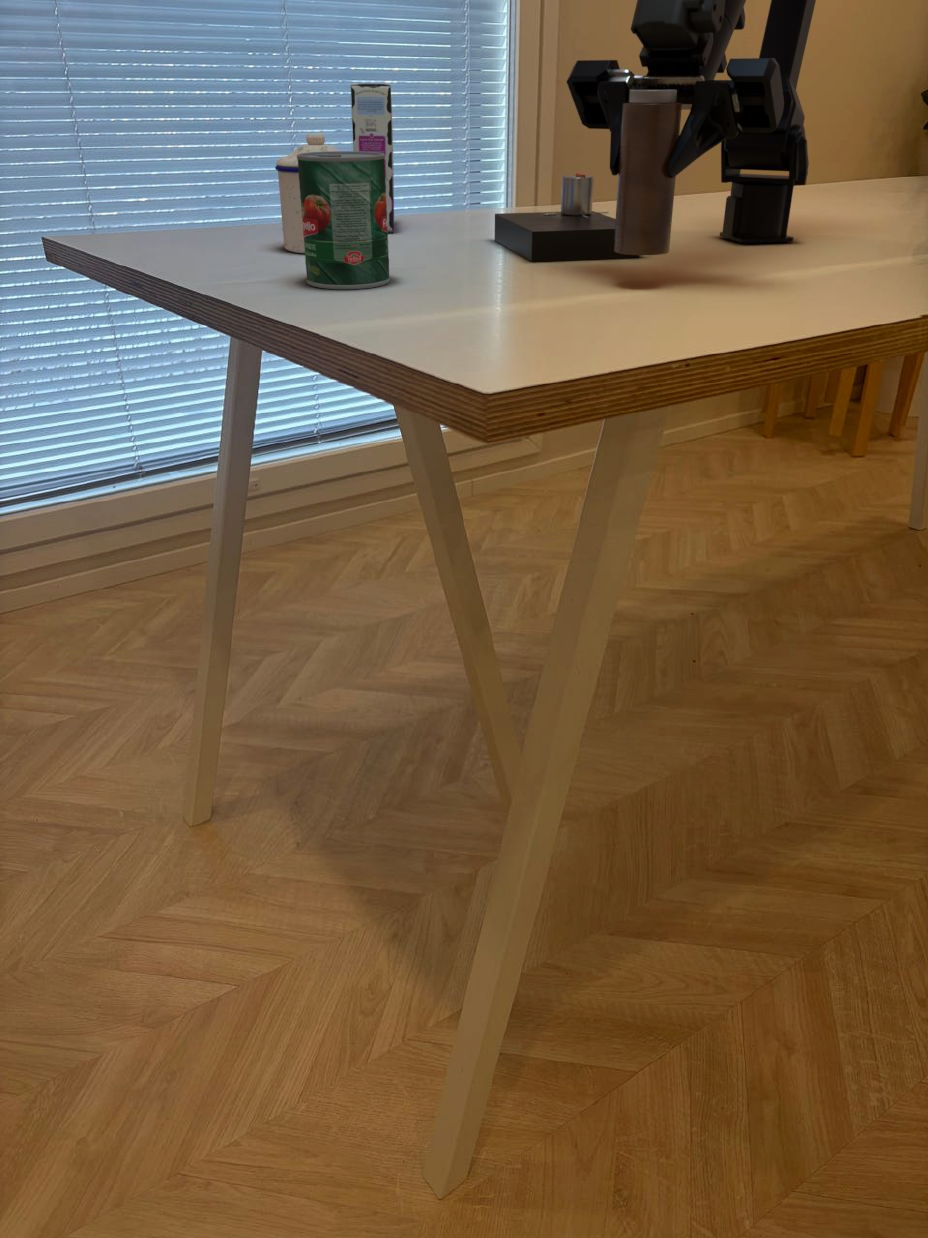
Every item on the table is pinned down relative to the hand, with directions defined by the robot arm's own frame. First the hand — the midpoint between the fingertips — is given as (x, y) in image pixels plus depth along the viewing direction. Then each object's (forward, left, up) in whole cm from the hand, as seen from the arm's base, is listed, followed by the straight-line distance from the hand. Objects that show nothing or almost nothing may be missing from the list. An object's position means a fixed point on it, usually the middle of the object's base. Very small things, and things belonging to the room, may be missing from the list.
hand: (640, 173), depth 86 cm
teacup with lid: (+25, -32, -10) cm, 42 cm away
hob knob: (-4, -29, -7) cm, 30 cm away
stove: (-1, -24, -10) cm, 26 cm away
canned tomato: (+25, -9, -10) cm, 28 cm away
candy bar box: (+17, -47, -10) cm, 51 cm away
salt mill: (-1, -1, -7) cm, 7 cm away
